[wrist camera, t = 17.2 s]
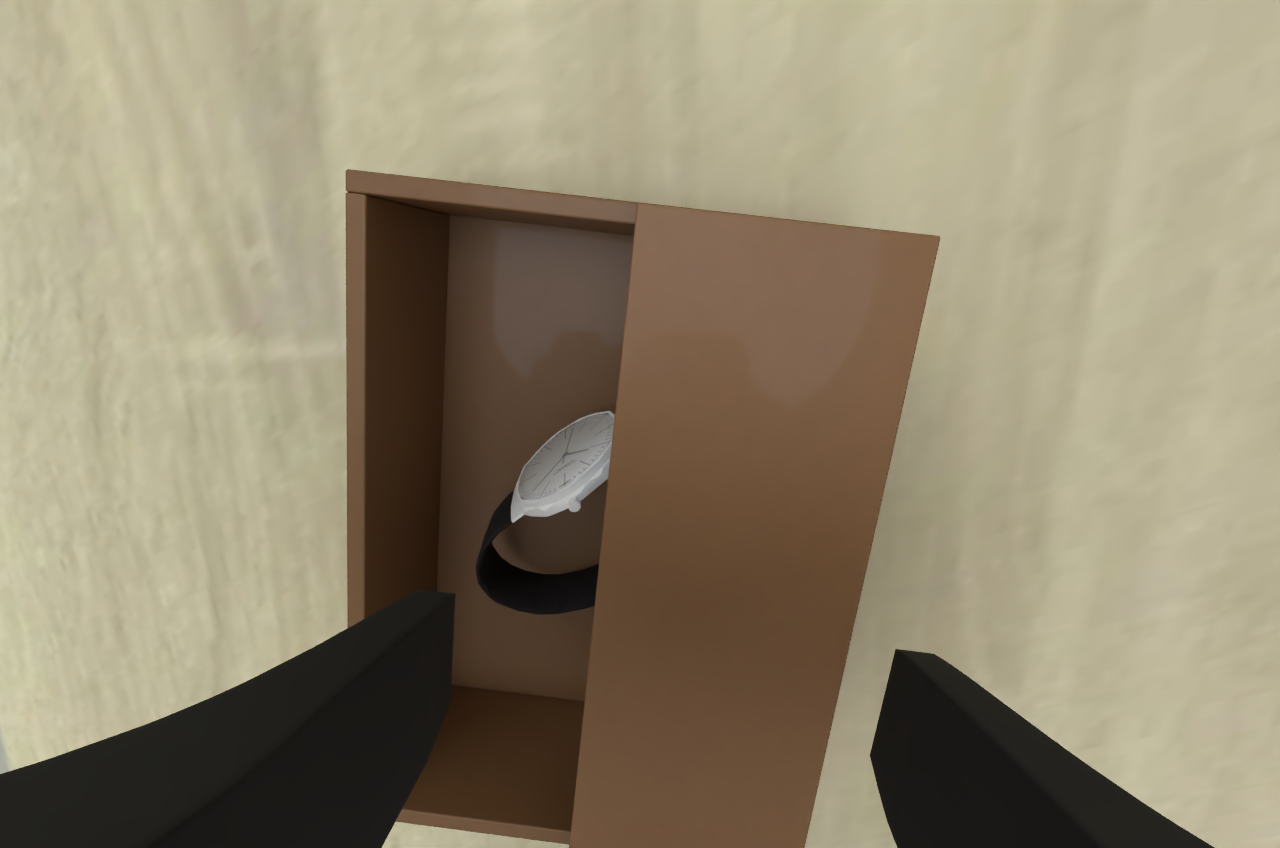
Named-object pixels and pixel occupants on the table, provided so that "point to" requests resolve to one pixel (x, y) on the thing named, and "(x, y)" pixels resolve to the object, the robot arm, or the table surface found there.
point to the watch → (542, 491)
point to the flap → (739, 519)
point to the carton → (480, 460)
